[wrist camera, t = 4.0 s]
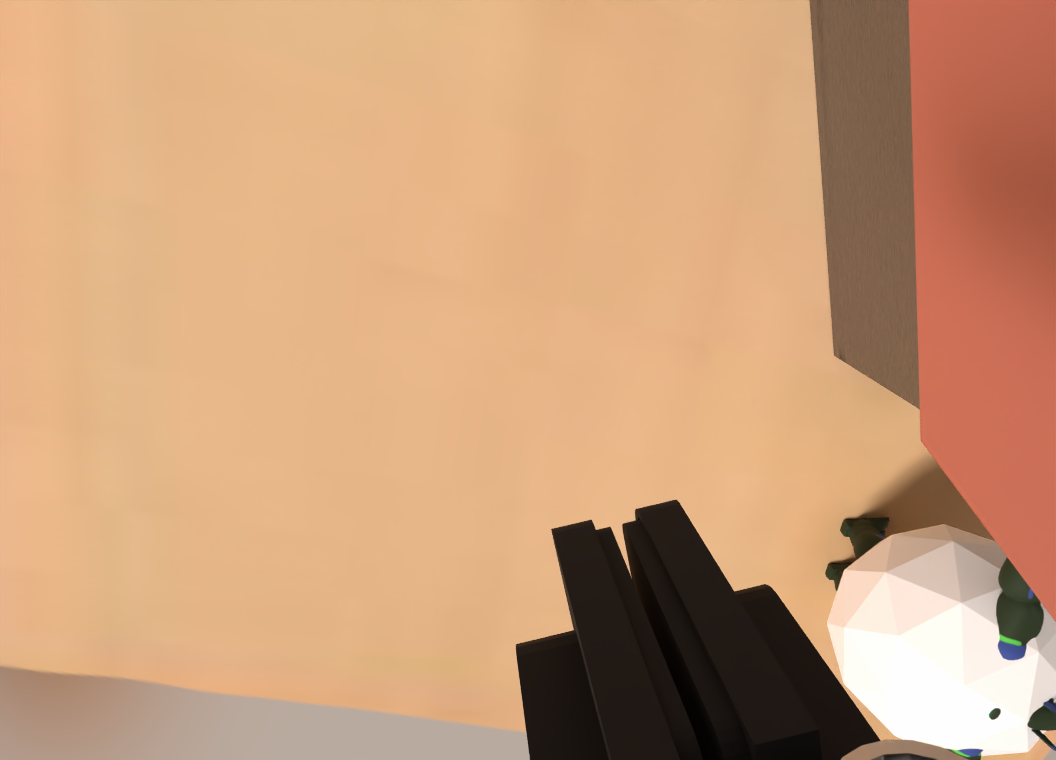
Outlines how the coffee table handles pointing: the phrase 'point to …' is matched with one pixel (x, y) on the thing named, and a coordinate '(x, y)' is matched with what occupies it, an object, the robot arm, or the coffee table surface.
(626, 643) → the robot arm
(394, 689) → the coffee table surface
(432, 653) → the coffee table surface
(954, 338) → the lid
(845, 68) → the box
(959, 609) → the bird figurine
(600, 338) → the coffee table surface
